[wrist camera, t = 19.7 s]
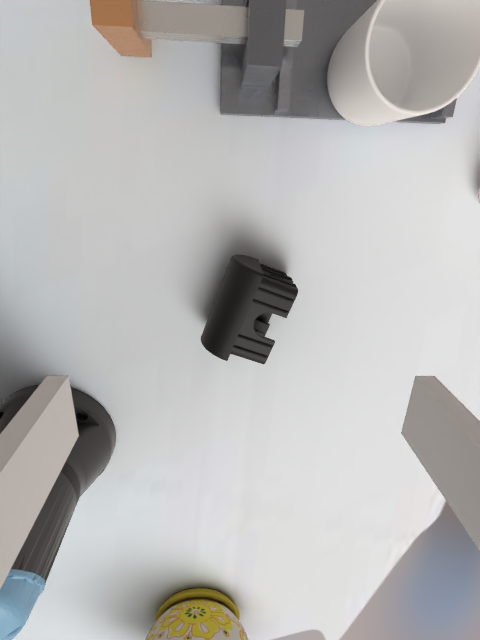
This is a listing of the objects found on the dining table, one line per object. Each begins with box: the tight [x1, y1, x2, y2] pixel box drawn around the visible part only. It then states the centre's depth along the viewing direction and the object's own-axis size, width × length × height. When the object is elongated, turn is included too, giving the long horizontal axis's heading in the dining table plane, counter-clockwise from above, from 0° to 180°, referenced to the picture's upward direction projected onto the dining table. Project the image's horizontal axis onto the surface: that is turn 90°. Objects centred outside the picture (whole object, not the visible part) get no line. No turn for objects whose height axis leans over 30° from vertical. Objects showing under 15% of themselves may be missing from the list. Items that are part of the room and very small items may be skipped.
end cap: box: [201, 255, 298, 364], centre depth 40 cm, size 10×7×7 cm
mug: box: [327, 0, 480, 126], centre depth 29 cm, size 12×8×10 cm
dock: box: [221, 0, 457, 124], centre depth 30 cm, size 22×11×10 cm, turn 88°
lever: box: [90, 0, 304, 57], centre depth 29 cm, size 15×3×8 cm, turn 88°
